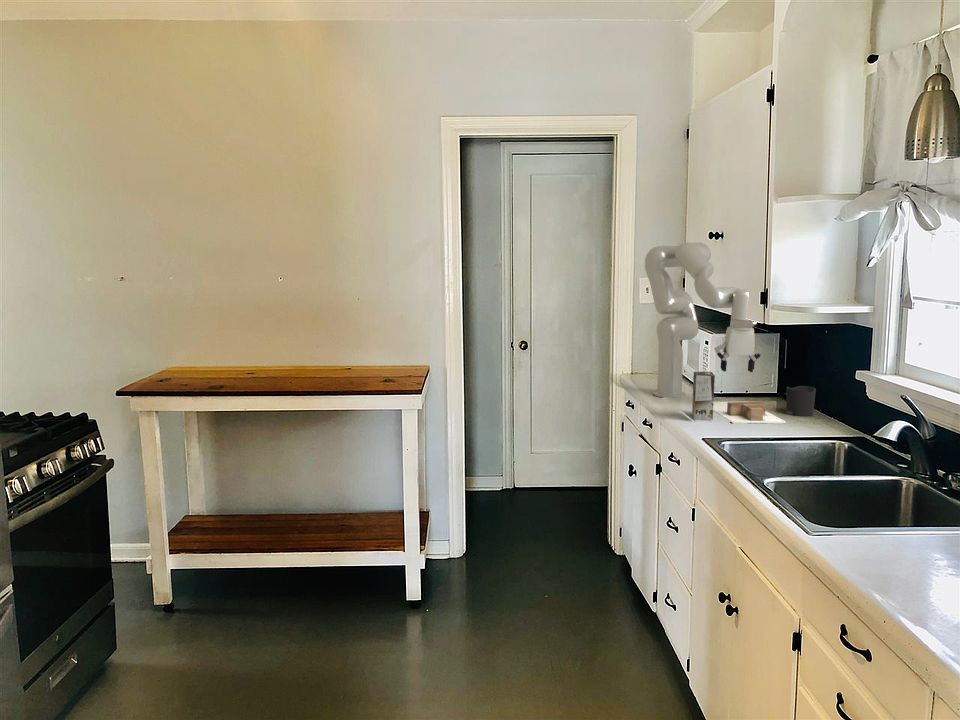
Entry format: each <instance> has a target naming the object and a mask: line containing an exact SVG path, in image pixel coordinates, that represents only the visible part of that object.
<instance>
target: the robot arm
mask: <svg viewBox="0 0 960 720" xmlns="http://www.w3.org/2000/svg"><path fill="white" fill-rule="evenodd" d="M711 254H712V253H711V249H710V248H709V246H708V245H707V244H705V243H703V242H684V243H681V244H679V245H660V246H655V247H652V248H651V249H650V250H648V252H647V253H646V255H645V257H644V258H645V259H644V269H645V272H646V273H645V274H646V277H647V279H648V281H649V285H650V289H651V293H652V299H653V303H654V307H655V310H656V312H657V313H658V314H660V315H664V316H665V315H675V316H669V317H665V318H663V319H661V320H660V321H658V324H657V326H656V335H657V342H658V362H657V363H658V364H657V388H656V389H657V390H654V391H653V392H652V393H653V395H654V396H655V397H658V398H664V397H665V398H682V397H685V396H686V394H687V393H686V392H685V391H683V367H684V366H683V365H684V351H683V346H682V344H681V342H680V341H687V340H692V339H695V337H696V336H697V335H698V333H699V321H698V317H697V313H696V310H695V303H694V300H693V298H692V296H691V294H689V292H687V291H685V290H676V289H675V288H674V285H673V280H672V277H671V276H670V274H669V273H668V272H667V271H666V269H665V268H683V269H684V270H685V271H686V272H687V273H688V274H689V275H690V277H692V279H693V280H694V283H693V284H694V285H693V286H694V290H695V292H696V295H697V296H698V297H699V299H701V300H702V302H703V303H704V304H705V305H706V306H708V307H709V308H712V309H731V313H730V321H729V323H730V325H729V326H727V327H726V328H727V329H726V331H725V334H724V341H723V343H722V344H720V345H718V346H715V347H714V351H715V353H716V355H717V357H718V358H719V359H720V369H721V371H723V372H727V364H728V361H727V359H728V358H729V357H730V356H733V357H748V362H747V371H748V372H750V373H753V372H754V370H755V363H756V361H758V359H759V358H761V355H762V353H763V352H764V348H761V347H760V346H758V345H756V344H755V343H756V340H755V329H754V326H757V321H754V320H753V321H754V322H753V321H751V320H748V319H746V318H747V317H746V316H747V310H748V301H749V291H747V290H748V289H742V290H741V288H739V287H735V286H728V287H727V286H724V287H723V286H722V287H721V286H719V287H716V286H715V285H714V284H713V283H712V282H711V280H710V279H709V278H710V277H711V276H712V275H713V273H714V270H715V267H714V265H713V263H712V262H711V261H710V259H711V256H712V255H711ZM721 350H722V352H723V353H722V352H721ZM755 350H757V351H756V353H755Z"/></svg>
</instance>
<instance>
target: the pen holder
mask: <svg viewBox="0 0 960 720" xmlns="http://www.w3.org/2000/svg"><path fill="white" fill-rule="evenodd" d="M816 392H817V388H815V387H812V386H808V385H798V386H795V387H790V386H786V405H785V406H786V407H785V408H786V415H788V416H794V417H800V418H801V417H803V418H805V417H806V418H808V417H810V418H812V417H813V415H814V409H815V402H816V401H815V400H816Z"/></svg>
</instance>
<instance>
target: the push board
mask: <svg viewBox="0 0 960 720" xmlns="http://www.w3.org/2000/svg"><path fill="white" fill-rule="evenodd" d="M728 402H729V401H714V402H713V411H714V412H716V413H717V414H719V415H721V416H723V417H724V418H725V419H727V420H729V422H730V423H731V424H733V425H734V424H735V425H738V424H739V425H740V424H741V425H742V424H743V425H744V424H745V425H748V424H747V423H768V424H786V423H787V422H786V421H785V420H784V419H782V418H779V417H778V416H776V415H774V414H772V413H771V412H769V411H767V410H765V415H763V421H751V420H749V419H747V418H746V417H744V416H731V415H729V414H727V403H728Z"/></svg>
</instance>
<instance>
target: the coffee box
mask: <svg viewBox="0 0 960 720" xmlns="http://www.w3.org/2000/svg"><path fill="white" fill-rule="evenodd" d="M692 377H693V381H692V383H693V384H692V409H691V410H692V413H691V415H692V419H693V421H694V422H696V421H708V422H712V421H713V419H714V418H713V417H714V410H713V402H715V401H714V400H715V399H714V398H715V378H716V375H715V374H714V373H713V371H693V376H692Z"/></svg>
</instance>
